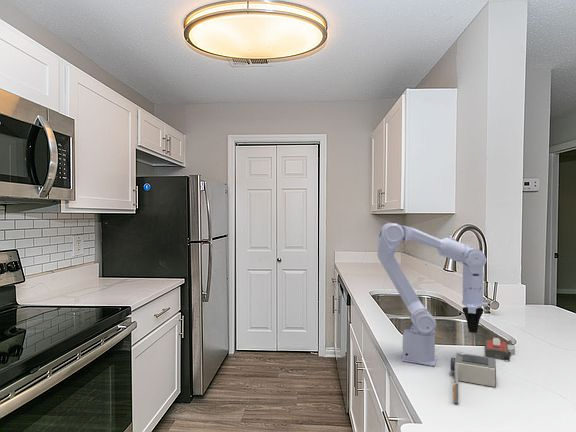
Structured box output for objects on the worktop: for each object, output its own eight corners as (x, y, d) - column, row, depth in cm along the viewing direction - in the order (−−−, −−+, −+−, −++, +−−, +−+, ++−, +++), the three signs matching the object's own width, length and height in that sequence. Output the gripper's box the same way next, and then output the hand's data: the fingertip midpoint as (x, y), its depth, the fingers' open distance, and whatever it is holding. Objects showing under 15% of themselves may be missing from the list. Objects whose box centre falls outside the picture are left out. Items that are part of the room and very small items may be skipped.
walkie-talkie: (516, 364, 119) (513, 345, 137) (516, 349, 119) (513, 332, 137) (484, 359, 123) (485, 341, 141) (484, 345, 123) (485, 329, 141)
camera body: (449, 379, 107) (449, 359, 107) (452, 369, 114) (452, 350, 114) (496, 387, 102) (496, 366, 102) (495, 376, 109) (495, 356, 109)
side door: (453, 379, 106) (453, 362, 106) (457, 380, 106) (457, 363, 106) (453, 402, 93) (453, 383, 93) (458, 403, 92) (458, 384, 92)
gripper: (487, 292, 111) (487, 340, 111) (487, 284, 124) (487, 327, 124) (460, 290, 114) (460, 337, 114) (463, 283, 127) (463, 324, 127)
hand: (472, 332), depth 119 cm, fingers closed
